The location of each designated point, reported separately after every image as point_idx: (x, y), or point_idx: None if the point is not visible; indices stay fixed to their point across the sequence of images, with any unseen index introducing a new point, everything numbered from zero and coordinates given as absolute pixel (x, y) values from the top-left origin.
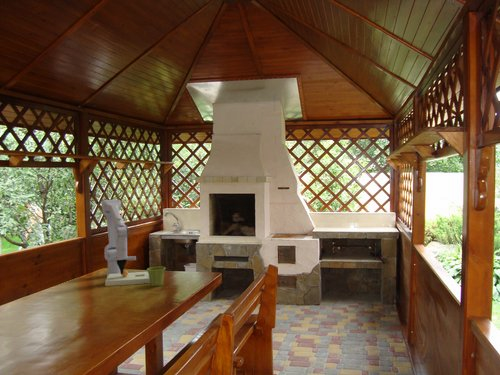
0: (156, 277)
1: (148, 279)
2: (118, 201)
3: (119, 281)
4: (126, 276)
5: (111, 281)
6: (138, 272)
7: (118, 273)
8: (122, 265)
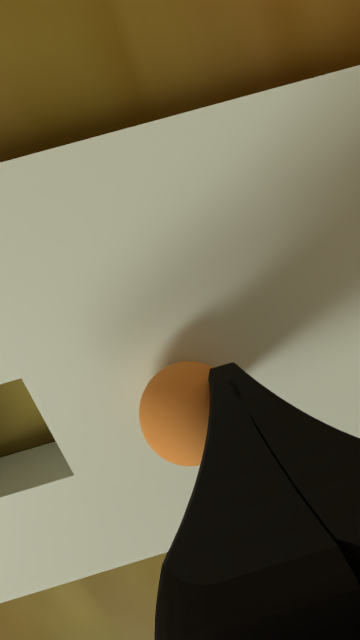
0: None
1: None
2: None
3: (173, 117)
4: None
5: (306, 81)
6: (91, 564)
7: None
8: (254, 477)
